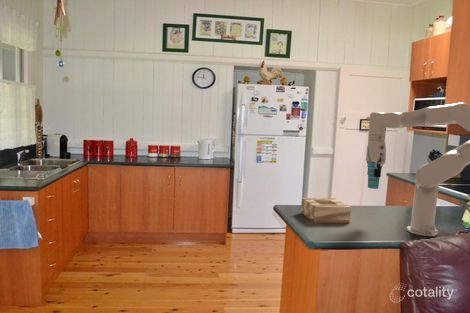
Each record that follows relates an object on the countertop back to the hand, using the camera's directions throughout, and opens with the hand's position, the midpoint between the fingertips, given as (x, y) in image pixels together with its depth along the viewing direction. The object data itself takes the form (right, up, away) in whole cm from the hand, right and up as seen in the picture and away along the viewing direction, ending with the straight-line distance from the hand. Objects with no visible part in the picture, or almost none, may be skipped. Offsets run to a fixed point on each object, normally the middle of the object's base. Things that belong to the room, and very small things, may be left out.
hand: (373, 175), depth 182 cm
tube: (0, -6, +1) cm, 6 cm away
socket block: (-22, -22, +8) cm, 32 cm away
